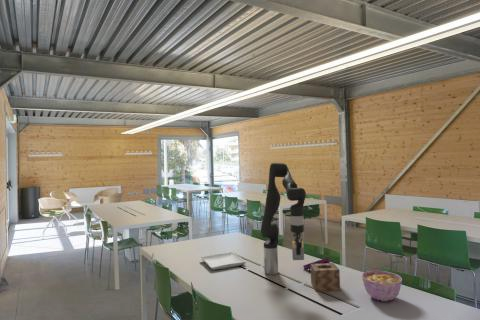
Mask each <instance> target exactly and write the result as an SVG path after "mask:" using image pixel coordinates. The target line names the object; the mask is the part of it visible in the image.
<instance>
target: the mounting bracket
mask: <svg viewBox="0 0 480 320" xmlns="http://www.w3.org/2000/svg"><path fill="white" fill-rule="evenodd" d="M322 263H331V262H330V259H329V257H325V258H321V259H318V260H316V261H313V262H310V263H307V264H304V265H303V269H307V268H308V269H309V268H311V264H322Z"/></svg>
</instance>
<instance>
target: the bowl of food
mask: <svg viewBox="0 0 480 320" xmlns="http://www.w3.org/2000/svg"><path fill="white" fill-rule="evenodd" d="M361 278H362V281H363V286H364V288H365V291H366V293H367V294H368V295H369V296H370V297H371V298H372V299H375V300H376V299H377V301H379V300H381V301H380V302H389V301H388V300H390V301H392V300H395V299H396V298H397V297H398V296H399V293H400V290H401V287H402V283H403V278H402V277H401V276H400V275H398V274H397V273H393V272H391V271H387V270H368V271H365V272H363V273H362V274H361Z"/></svg>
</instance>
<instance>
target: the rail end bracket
mask: <svg viewBox="0 0 480 320" xmlns="http://www.w3.org/2000/svg"><path fill="white" fill-rule="evenodd" d="M298 246H300V245H298ZM291 251H292V261H304V260H305V246H304V241H303V240H302V247H301V255H297V252H296V244H295V241H294V240H292V241H291Z"/></svg>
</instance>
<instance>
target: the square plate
mask: <svg viewBox="0 0 480 320" xmlns="http://www.w3.org/2000/svg"><path fill="white" fill-rule="evenodd" d="M199 258H200V260H201V261H202V262H204V263H205V264H206V265H208V267H210V268H211V269H212V270H213V271H214V270H221V269H227V268H228V269H229V268H233V267H238V266H239V267H240V266H242V265H245V264H246V263H247V261H246V260H245V259H243V258H241V257H240V256H239V255H237V254H236V253H234V252H224V253H217V254H213V255H212V254H211V255H205V256H201V257H199Z"/></svg>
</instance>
